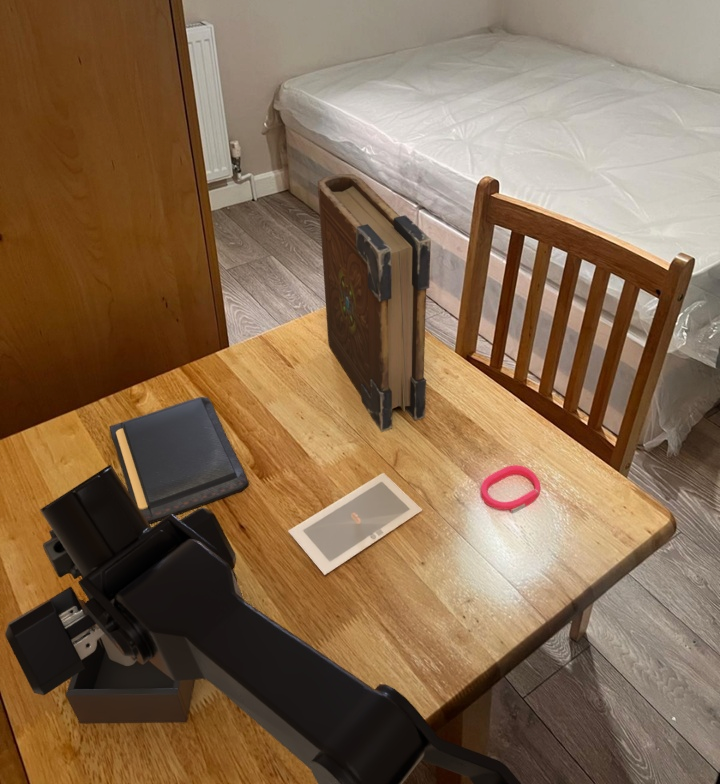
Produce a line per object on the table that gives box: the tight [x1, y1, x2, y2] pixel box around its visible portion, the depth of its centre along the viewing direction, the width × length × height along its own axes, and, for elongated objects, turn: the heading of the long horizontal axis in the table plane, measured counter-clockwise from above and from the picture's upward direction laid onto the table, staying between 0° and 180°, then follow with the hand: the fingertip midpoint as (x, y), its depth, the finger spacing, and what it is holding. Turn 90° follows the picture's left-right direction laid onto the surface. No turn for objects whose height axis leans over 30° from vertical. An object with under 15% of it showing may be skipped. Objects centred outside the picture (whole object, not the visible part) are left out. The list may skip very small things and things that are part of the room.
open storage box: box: [65, 638, 195, 724], centre depth 75 cm, size 11×11×6 cm
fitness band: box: [480, 464, 541, 514], centre depth 94 cm, size 8×6×2 cm
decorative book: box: [317, 173, 432, 433], centre depth 106 cm, size 23×7×30 cm, turn 24°
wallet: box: [109, 396, 250, 525], centre depth 101 cm, size 20×2×15 cm
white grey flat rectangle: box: [287, 472, 423, 576], centre depth 90 cm, size 8×15×2 cm, turn 127°
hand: (114, 589), depth 70 cm, fingers closed on power adapter, 6 cm apart
